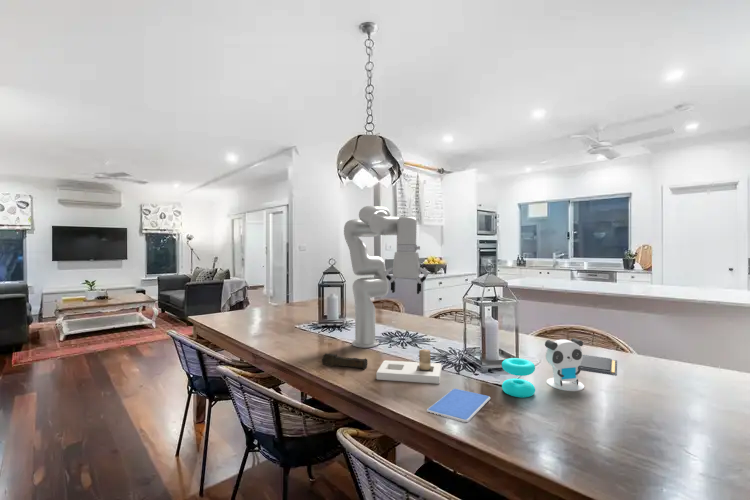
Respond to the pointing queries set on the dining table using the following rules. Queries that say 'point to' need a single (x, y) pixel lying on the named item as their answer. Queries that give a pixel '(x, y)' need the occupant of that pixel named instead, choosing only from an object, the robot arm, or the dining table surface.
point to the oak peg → (424, 360)
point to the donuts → (518, 385)
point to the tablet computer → (459, 405)
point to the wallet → (598, 365)
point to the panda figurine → (565, 364)
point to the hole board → (408, 372)
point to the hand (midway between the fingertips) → (405, 292)
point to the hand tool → (343, 361)
